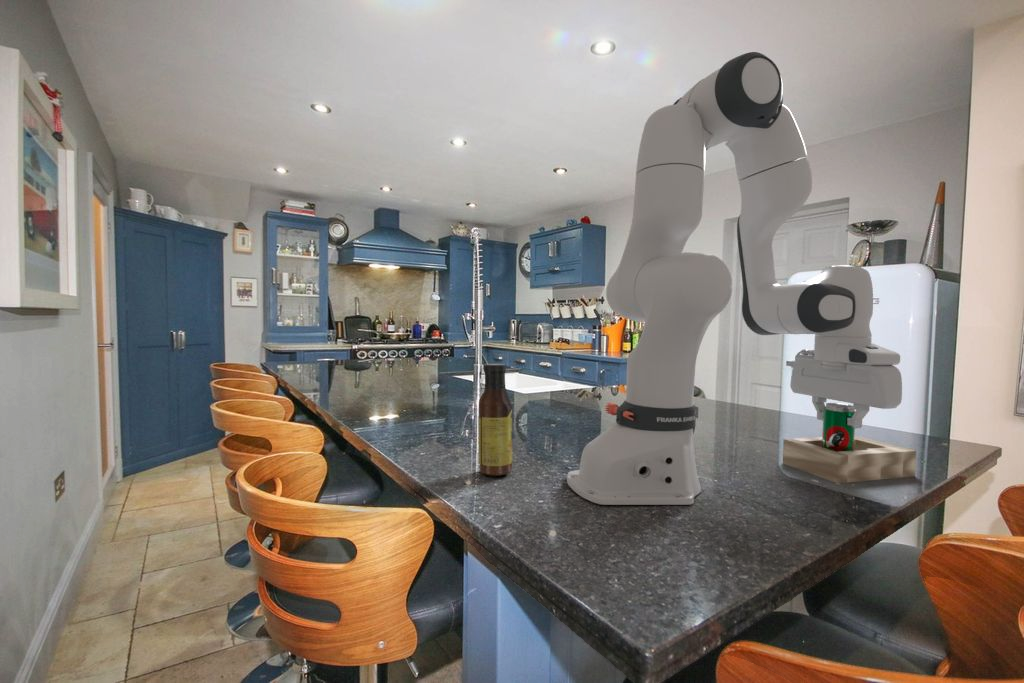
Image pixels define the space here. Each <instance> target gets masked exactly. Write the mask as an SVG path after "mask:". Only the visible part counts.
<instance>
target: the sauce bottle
mask: <svg viewBox="0 0 1024 683" xmlns="http://www.w3.org/2000/svg"><path fill="white" fill-rule="evenodd" d="M506 372H507V365H506V364H505V363H486V364H485V363H484V364H483V373H484V390H483V392H482V394H481V395H480V396H479V397H480V398H479V399H478V400H479V401H478V418H477V419H478V421H477V422H478V427H477V428H478V464H479V467H478V468H479V471H480V472H481V474H483V475H487V476H495V477H497V476H503V475H507V474H510V472H512V468H513V460H514V459H513V406H512V403H511V401H510V400H511V399H510V398H509V394H508V392H507V391H508V390H507V387H506Z"/></svg>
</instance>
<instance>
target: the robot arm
mask: <svg viewBox="0 0 1024 683" xmlns="http://www.w3.org/2000/svg"><path fill="white" fill-rule="evenodd" d="M783 92H784V87H783V80H782V76H781V73H780V70H779V68H778V66H777V64H776V63H775V62H774V61H773V60H772V59H771V58H769V57H768V56H766V55H765V54H763V53H761V52H758V51H751V52H746V53H743V54H740V55H738V56H735V57H734V58H732V59H729V60H728V61H726V62H725V63H724V64H723V65H722V66H721V67H720V68H718V69H717V70H715V71H713V72H711V73H710V74H709V75H708V76H706V77H705V78H702V79H701V80H699V81H698V82H697V83H696V84H694V85H693V86H692V87H690V89H689V90H688V91H686V93H684V95H683V96H682V97H679V98H678V99H677V100H675V101H674V102H673V104H670V105H666V106H663V107H660V108H659V109H658V108H657V110H655V111H654V112H653V113H652V114H650V116H648V118H647V120H646V122H645V124H644V127H643V131H642V133H641V139H640V143H639V148H638V155H637V162H636V168H635V169H636V171H635V182H634V183H635V184H634V199H633V200H634V201H633V211H632V220H631V226H630V230H629V233H628V237H627V241H626V244H625V246H624V249H623V252H622V255H621V259H620V262H619V264H618V266H617V268H616V271H615V272H614V273H613V274H612V276H611V277H610V279H609V280H608V283H607V285H606V289H605V290H606V291H605V294H606V301H607V304H608V305H609V307H610V309H611V311H613V312H614V313H615V314H616V315H618V316H619V317H622V318H623V319H626V320H630V321H633V322H636V323H644V324H643V328H642V332H641V333H640V337H639V340H638V343H637V344H636V345H635V347H634V348H633V349H632V350H631V351H630V352H629V354H628V356H627V360H626V379H625V380H626V382H625V384H626V385H625V386H626V387H625V400H624V401H623V402H622V403H621V404H620V405H618V404H615V403H614V402H607V403H606V405H604V409H605V412H606V413H607V414H609V415H611V416H616V418H615V423H613V424H611V426H610V427H608V428H607V429H606V430H604V431H603V432H601V433H600V434H599V435H598V436H596V437H595V438H593V440H591V441H589V442H588V443H587V444H586V445H585V446H584V448H583V450H582V452H581V458H580V462H579V463H580V464H579V468H578V469H575V470H571V471H568V473H567V475H566V482H567V486H568V487H569V488H571V490H572V491H573V492H575V493H576V494H577V495H579V496H580V497H581V498H583V499H585V500H588V501H590V502H591V503H594V504H597V505H603V506H605V505H607V506H609V505H611V506H612V505H613V506H615V505H616V506H622V505H623V506H625V505H628V506H629V505H631V506H632V505H633V506H635V505H636V506H637V505H639V506H640V505H641V506H642V505H643V506H644V505H647V506H648V505H650V506H652V505H654V506H659V505H663V506H665V505H667V506H671V505H673V506H676V505H678V506H679V505H681V506H682V505H684V506H685V505H686V506H687V505H688V506H689V505H693V504H694V503H695V497H696V496H698V495H699V494H700V493H701V491H702V487H701V484H700V480H699V474H698V471H697V470H698V469H697V466H696V456H695V447H694V446H695V444H694V434H695V429H696V426H697V425H696V424H697V423H696V421H697V417H696V416H697V415H696V414H697V412H696V411H697V410H696V408H697V407H696V405H695V404H694V394H695V376H696V375H695V374H696V365H697V357H698V354H699V351H700V350H699V349H700V347H701V345H702V342H703V339H704V337H705V334H706V332H707V330H708V328H709V327H710V324H711V323H712V322H713V320H714V319H715V318H716V317H717V316H718V315H719V314H720V313H721V312H722V311H724V309H725V308H726V307H727V306H728V304H729V302H730V299H731V297H732V292H733V279H732V274H731V272H730V269H729V267H728V266H727V264H726V263H725V261H723V260H722V259H721V258H719V257H718V256H715V255H713V254H710V253H709V254H708V253H703V252H702V253H700V252H689V251H688V252H684V248H685V246H686V243H687V241H688V239H690V236H691V235H692V233H694V231H695V230H697V228H698V227H699V224H700V222H701V220H702V217H703V205H704V204H703V203H704V191H705V190H704V189H705V188H704V187H705V173H706V151H707V150H709V149H711V148H712V147H713V148H714V147H716V146H718V145H720V144H723V143H724V145H725V146H727V148H728V149H729V150H730V151H731V153H732V154H733V157H734V163H735V165H734V166H735V170H736V175H737V178H738V179H737V180H738V184H739V188H740V189H739V190H740V196H741V200H740V201H741V206H740V207H741V209H740V214H739V216H738V219H737V223H736V236H737V246H738V254H739V255H738V257H739V264H740V272H741V280H742V281H741V282H742V303H741V314H742V315H741V316H742V317H743V320H744V322H745V324H746V326H747V327H748V329H750V330H751V331H752V332H753V333H755V334H757V335H760V336H775V335H814V347H813V348H814V349H801V350H800V351H799V352H797V353H796V354H795V357H794V364H793V366H792V369H791V370H792V371H791V377H790V389H791V391H792V392H793V393H794V394H800V395H804V396H808V397H811V401H812V402H811V403H812V404H813V407H814V408H815V411H816V419H817V420H818V421H822V422H823V410H824V408H825V407H826V403H827V401H828V400H833V401H837V402H842V403H850V404H853V405H852V406H853V409H854V410H855V413H854V415H853V416H852V417H848V418H847V421H848V423H847V426H848V427H852V428H855V429H861V428H862V427H863V419H864V418H866V416H867V415H868V413H869V412H870V408H876V409H884V410H885V409H889V410H890V409H896V408H897V407H898V406H900V405H901V403H902V400H903V380H902V374H901V370H900V369H899V368H898V367H897V366H896V365H899V364H900V363H901V354H900V353H898V352H896V351H894V350H891V349H887V348H886V347H883V346H880V345H877V344H875V343H872V332H871V328H870V323H871V320H872V317H873V311H874V291H873V290H874V288H873V282H872V277H871V274H870V272H869V271H868V270H867V269H865V268H863V267H861V266H856V265H847V264H835V265H833V264H832V265H828V266H825V267H824V268H823V269H822V270H821V272H820V273H819V274H817V275H816V276H814V277H811V278H809V279H807V280H804V281H802V282H795V283H789V284H780V283H779V282H778V281H777V279H776V271H775V262H774V253H773V241H774V237H775V235H776V233H777V231H778V230H779V228H781V226H782V225H783V224H784V223H785V222H787V221H788V220H790V219H791V217H793V216H795V215H796V214H797V212H799V211H800V210H801V209H802V208H803V206H804V205H805V203H806V202H807V200H808V199H809V197H810V195H811V192H812V188H813V187H812V186H813V176H812V175H813V174H812V168H811V166H810V162H809V157H808V154H807V149H806V146H805V145H806V144H805V142H804V139H803V137H802V134H801V131H800V129H799V127H798V124H797V122H796V120H795V117H794V116H793V114H792V112H791V110H790V109H789V108H788V107H787V106H786V105H784V104H783V101H784V99H783V98H784V96H783V95H784V93H783ZM827 399H828V400H827Z"/></svg>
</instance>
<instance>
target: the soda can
mask: <svg viewBox="0 0 1024 683" xmlns="http://www.w3.org/2000/svg"><path fill="white" fill-rule="evenodd" d="M855 411H856V410H854V409H853V405H852V404H847V403H839V402H825V408H824V410H823V421H822V432H821V433H822V434H821V437H822V448H826V449H829V450H833V451H836V452H842V451H854V437H855V436H856V435H855V433H856V432H855V431H856V428H852V427H848V426H847V423H848V421H847V418H848V417H852V416H853V415H854V413H855Z"/></svg>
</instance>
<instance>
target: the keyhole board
mask: <svg viewBox="0 0 1024 683" xmlns="http://www.w3.org/2000/svg"><path fill="white" fill-rule="evenodd" d="M782 443H783V447H782V464H783V465H785V466H788V467H791V468H795V469H796V470H800V471H803V472H805V473H808V474H811V475H814V476H816V477H819V478H821V479H824V480H827V481H830V482H833V483H835V484H843V483H844V484H845V483H856V482H857V483H858V482H866V481H868V482H869V481H877V480H888V479H898V478H909V477H910V478H911V477H915V476H916V462H917V450H914V449H911V448H907V447H902V446H900V445H899V446H898V445H894V444H890V443H886V442H884V441H883V442H882V441H879V440H878V441H877V440H875V439H870V438H866V437H863V436H859V435H855V437H854V451H842V452H836V451H833V450H829V449H826V448H822V436H815V437H799V438H795V437H794V438H783V441H782Z"/></svg>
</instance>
